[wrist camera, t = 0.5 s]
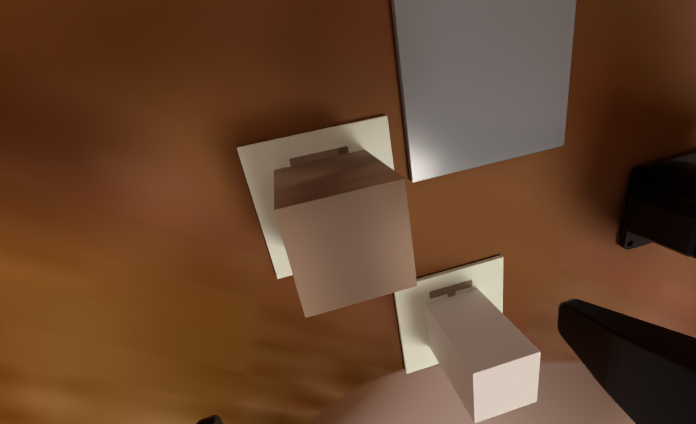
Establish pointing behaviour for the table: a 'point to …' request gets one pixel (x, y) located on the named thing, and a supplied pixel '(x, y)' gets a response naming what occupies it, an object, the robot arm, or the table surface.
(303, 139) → the cream glyph tile
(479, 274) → the code tile
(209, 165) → the table surface
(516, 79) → the slate coaster
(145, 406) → the table surface
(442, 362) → the beige block
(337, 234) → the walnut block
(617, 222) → the table surface
